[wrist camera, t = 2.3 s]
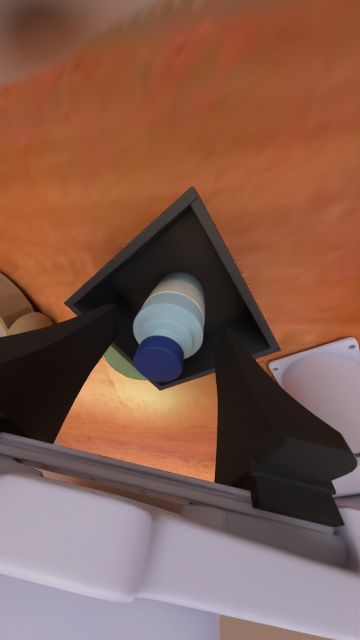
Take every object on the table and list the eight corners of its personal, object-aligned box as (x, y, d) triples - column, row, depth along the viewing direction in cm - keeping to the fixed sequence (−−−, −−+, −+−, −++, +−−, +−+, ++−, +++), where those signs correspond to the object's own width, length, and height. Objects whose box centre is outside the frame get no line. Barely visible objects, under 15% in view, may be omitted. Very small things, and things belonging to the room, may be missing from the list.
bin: (260, 311, 16) (281, 350, 11) (170, 351, 20) (159, 390, 16) (198, 195, 12) (192, 185, 7) (102, 277, 16) (63, 303, 12)
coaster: (181, 366, 22) (181, 368, 21) (135, 384, 25) (134, 386, 25) (136, 318, 18) (135, 320, 18) (91, 346, 22) (89, 348, 22)
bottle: (214, 303, 16) (220, 380, 9) (175, 324, 18) (152, 401, 11) (186, 260, 14) (164, 312, 7) (146, 288, 16) (95, 352, 9)
